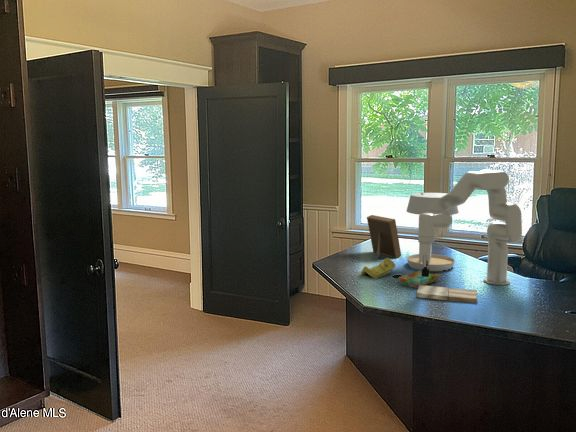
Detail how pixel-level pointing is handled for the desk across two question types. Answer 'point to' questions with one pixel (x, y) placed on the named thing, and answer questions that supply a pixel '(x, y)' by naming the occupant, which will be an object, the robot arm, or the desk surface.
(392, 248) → the photo frame
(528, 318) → the desk surface
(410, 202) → the lamp
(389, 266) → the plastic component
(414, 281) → the puzzle game
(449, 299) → the oak floorboard
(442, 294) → the birch plank
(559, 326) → the desk surface
